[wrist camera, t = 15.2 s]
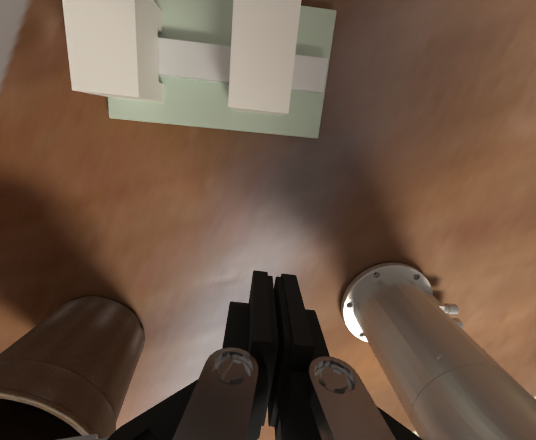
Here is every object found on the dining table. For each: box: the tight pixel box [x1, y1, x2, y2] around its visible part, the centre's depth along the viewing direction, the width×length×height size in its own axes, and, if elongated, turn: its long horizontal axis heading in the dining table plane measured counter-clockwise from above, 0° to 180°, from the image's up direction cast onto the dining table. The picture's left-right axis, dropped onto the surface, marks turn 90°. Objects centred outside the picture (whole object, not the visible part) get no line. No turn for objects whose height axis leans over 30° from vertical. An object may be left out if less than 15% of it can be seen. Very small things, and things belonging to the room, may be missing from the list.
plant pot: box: [0, 296, 145, 440], centre depth 31 cm, size 16×16×16 cm
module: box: [228, 0, 301, 116], centre depth 26 cm, size 5×9×7 cm, turn 174°
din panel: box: [62, 0, 337, 139], centre depth 26 cm, size 22×12×8 cm, turn 85°
